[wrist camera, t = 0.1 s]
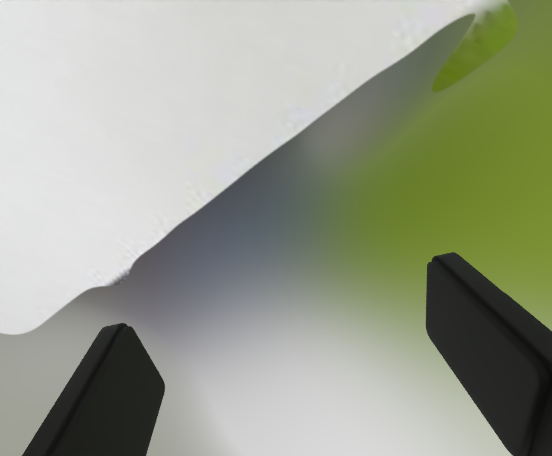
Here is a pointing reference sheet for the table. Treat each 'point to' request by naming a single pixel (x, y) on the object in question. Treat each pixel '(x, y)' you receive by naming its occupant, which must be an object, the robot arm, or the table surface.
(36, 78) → the table surface
